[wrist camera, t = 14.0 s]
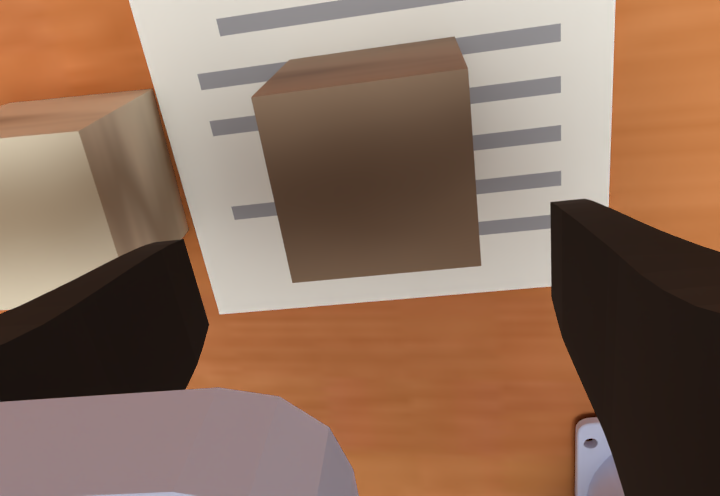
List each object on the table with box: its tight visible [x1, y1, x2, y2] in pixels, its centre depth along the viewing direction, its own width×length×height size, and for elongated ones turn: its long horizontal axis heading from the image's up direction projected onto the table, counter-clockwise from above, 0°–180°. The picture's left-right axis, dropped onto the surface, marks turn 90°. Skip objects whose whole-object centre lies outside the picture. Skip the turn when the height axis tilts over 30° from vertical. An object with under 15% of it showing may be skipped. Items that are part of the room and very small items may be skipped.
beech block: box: [0, 89, 189, 310], centre depth 19 cm, size 5×5×5 cm
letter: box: [129, 0, 616, 314], centre depth 20 cm, size 12×14×1 cm
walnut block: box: [251, 36, 481, 283], centre depth 17 cm, size 5×5×5 cm
